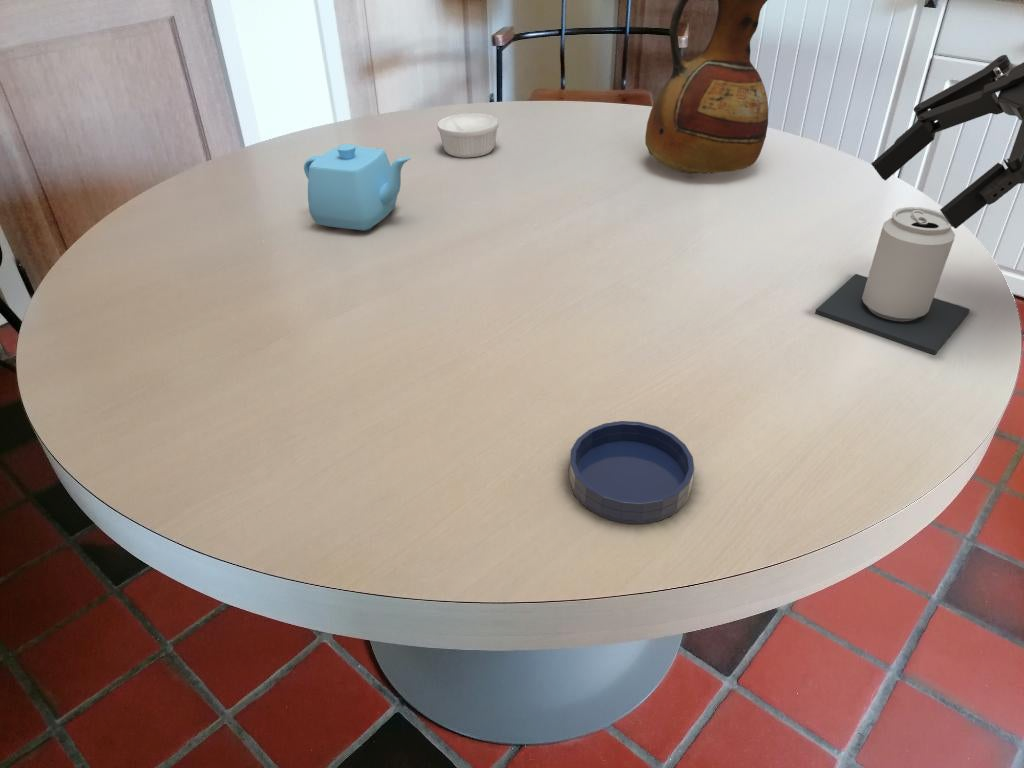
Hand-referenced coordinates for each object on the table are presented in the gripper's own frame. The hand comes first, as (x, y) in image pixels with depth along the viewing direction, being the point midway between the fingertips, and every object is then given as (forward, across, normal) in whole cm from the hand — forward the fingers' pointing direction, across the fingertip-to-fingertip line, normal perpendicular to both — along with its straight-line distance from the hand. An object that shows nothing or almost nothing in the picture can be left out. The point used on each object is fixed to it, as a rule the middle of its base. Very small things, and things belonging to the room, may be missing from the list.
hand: (910, 194), depth 82 cm
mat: (+9, 0, -13) cm, 16 cm away
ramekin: (+42, +69, +20) cm, 83 cm away
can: (+9, 0, -12) cm, 15 cm away
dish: (+37, -23, +15) cm, 46 cm away
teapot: (+55, +40, +33) cm, 76 cm away
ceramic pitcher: (+13, +52, -8) cm, 55 cm away
